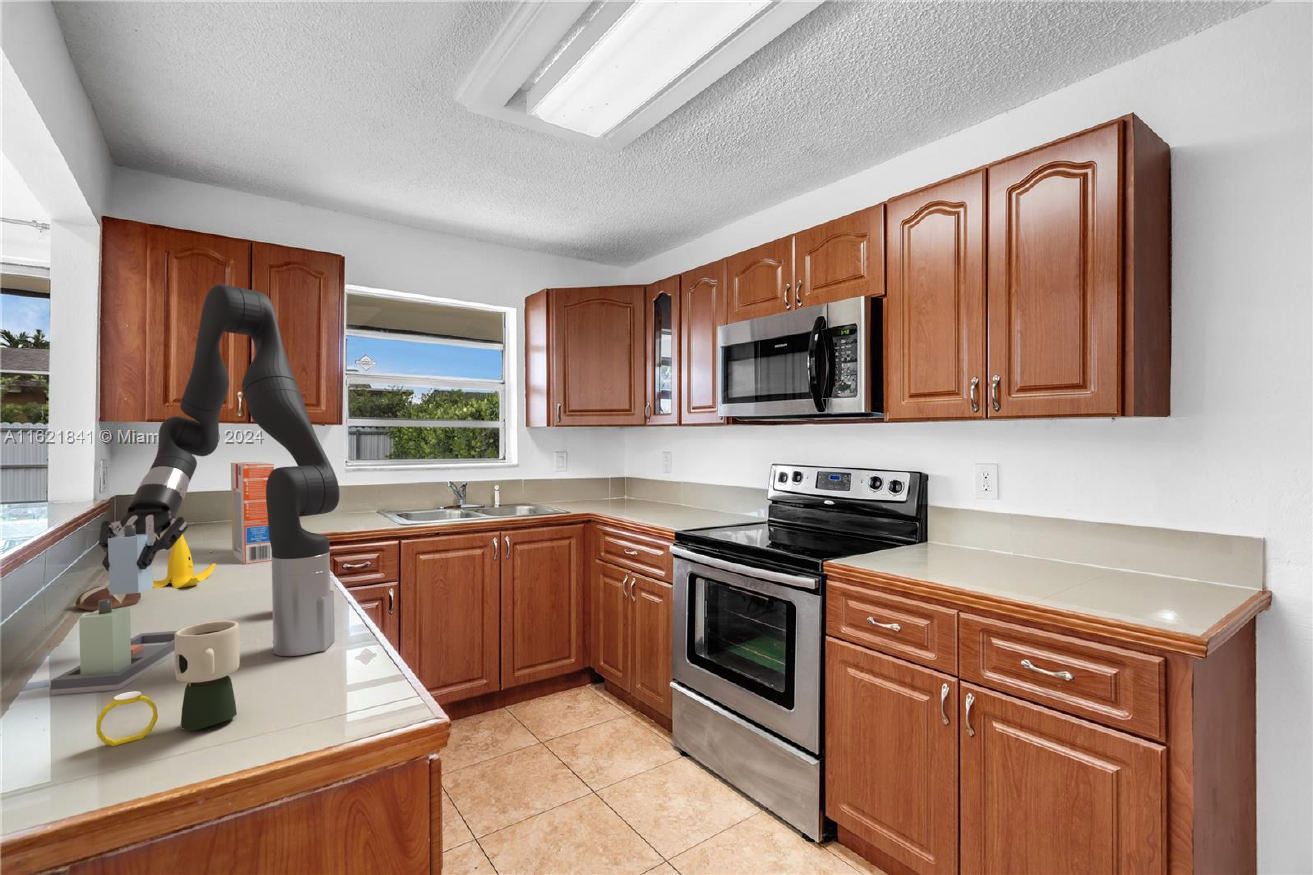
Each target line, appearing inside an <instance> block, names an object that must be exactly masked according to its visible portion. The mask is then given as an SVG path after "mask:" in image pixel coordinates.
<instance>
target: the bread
mask: <svg viewBox="0 0 1313 875" xmlns="http://www.w3.org/2000/svg"><path fill="white" fill-rule="evenodd" d="M141 597H142V592H140V593H132V594H117V595H110V592H109V584H108V585H106V586H105V587H104V586H100V585H99V586H95V587H92V588H89V589H87V590H86V591H83V592H82V593H81V594H80V595H79V596H78V597H77V598H76V600H75V607H76V608H78V609H81V610H86V611H92V612H94V611H97V610H99V607H98V601H100V600H104V599H112V609H121V608H125V607H126V608H127V607H129V606H133V605H136V604H137V603H138V602H139V601H140V600H141Z"/></svg>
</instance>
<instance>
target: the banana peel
mask: <svg viewBox="0 0 1313 875" xmlns="http://www.w3.org/2000/svg"><path fill="white" fill-rule="evenodd" d="M167 563H168V564H167V574H166V575H167V576H166V578H165V579H163V580H153V588H152V589H157V588H164V587H166V586H168V585H169V584H171V586H172V588H173V589H184V588H189V587H194V586H198V582H202V581H205V580H206V579H207V578H209V576H210V575H211V574H212V573H213V571H214V569H215V568H216V566H217V563H212V564H210V565H209V566H208V567H207V568H206V569H205V570H203V571H201V572H200V573H198V574H195V572H194V564H193V563H194V562H193V557H192V554H191V551H190V548H189V546H188V544H187V541H186V540H185V537H184V533H183V534H182V535H181V537H180V538H179V539H178V540H177V541H176V543H175V544H174V545H173V546H172V548H171V549H170V553H169V558H168V562H167Z"/></svg>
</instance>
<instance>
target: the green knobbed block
mask: <svg viewBox="0 0 1313 875" xmlns="http://www.w3.org/2000/svg"><path fill="white" fill-rule="evenodd" d="M98 607H99V610H97V611H92V612H89V613H87V614H85V615H82V616H79V618H78V619H79V620H78V621H79V622H78V624H79V627H78V629H79V664H80V665H79V666H80V675H82V674H95V673H109V672H119V671H121V670H122V669H124V668H126V667H128V666H129V665H131V639H132V637H131V607H126V608H125V607H120V608H114V609H112V599H104V600H100V601H98Z"/></svg>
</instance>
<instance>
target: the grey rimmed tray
mask: <svg viewBox="0 0 1313 875" xmlns="http://www.w3.org/2000/svg"><path fill="white" fill-rule="evenodd" d="M177 631H178V630H173V631H159V632H157V631H156V632H154V631H153V632H142V633H140V634H138V635H136V636H134V637H131V665H129V666H128V667H126V668H124V669H122V670H121V671H119V672H109V673H95V674H82V675H80V665H78V666H76V667H73V668H72V669H70V670H68V671H66V672H65V673H63V674H60V675H58V676H56V677H55V678H53V679H51V680H50V696H56V695H58V696H59V695H68V694H80V693H83V694H84V693H93V692H94V693H95V692H105V691H119V690H121V689H122V688H125V686H127V685H129V684H131V683H132V682H134V681H135V680H137V679H138V678H140V677H141V676H143V675H145V674H146V673H148V672H150V671H151V670H152V669H153V670H154V669H155V668H156V667H157V666H159V665H161V664H162V663H164V662H166V661H167V660H169V659H171V658H172V657H173V656H175V632H177Z"/></svg>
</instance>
